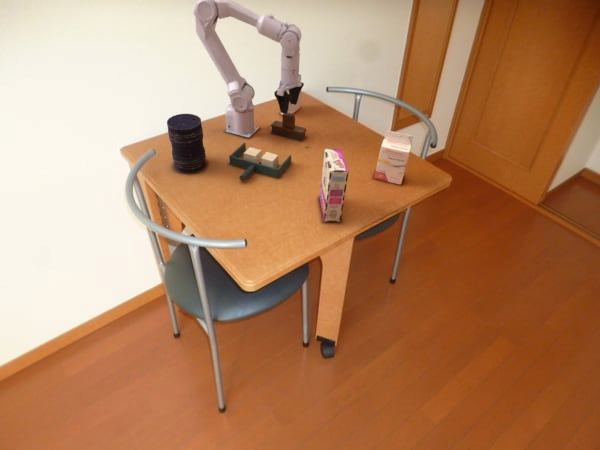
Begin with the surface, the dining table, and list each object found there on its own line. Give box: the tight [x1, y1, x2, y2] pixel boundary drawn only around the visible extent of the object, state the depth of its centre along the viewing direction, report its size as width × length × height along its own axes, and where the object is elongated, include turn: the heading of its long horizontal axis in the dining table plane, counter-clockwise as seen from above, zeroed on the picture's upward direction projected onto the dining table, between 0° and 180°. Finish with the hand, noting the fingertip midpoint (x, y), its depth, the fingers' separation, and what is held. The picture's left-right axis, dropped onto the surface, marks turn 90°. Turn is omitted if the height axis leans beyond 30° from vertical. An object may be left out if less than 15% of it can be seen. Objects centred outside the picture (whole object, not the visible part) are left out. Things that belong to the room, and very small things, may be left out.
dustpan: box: [228, 142, 292, 183], centre depth 129 cm, size 17×16×3 cm
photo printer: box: [279, 80, 302, 116], centre depth 158 cm, size 10×4×12 cm, turn 149°
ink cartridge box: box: [374, 129, 414, 185], centre depth 125 cm, size 9×5×15 cm, turn 71°
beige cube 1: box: [243, 146, 262, 164], centre depth 132 cm, size 4×4×4 cm
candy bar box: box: [318, 148, 350, 223], centre depth 111 cm, size 11×5×16 cm, turn 5°
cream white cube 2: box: [260, 151, 279, 169], centre depth 130 cm, size 4×4×4 cm
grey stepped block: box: [270, 113, 307, 142], centre depth 145 cm, size 12×4×8 cm, turn 67°
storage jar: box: [166, 113, 207, 175], centre depth 126 cm, size 10×10×15 cm
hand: (288, 108), depth 141 cm, fingers open, 7 cm apart
